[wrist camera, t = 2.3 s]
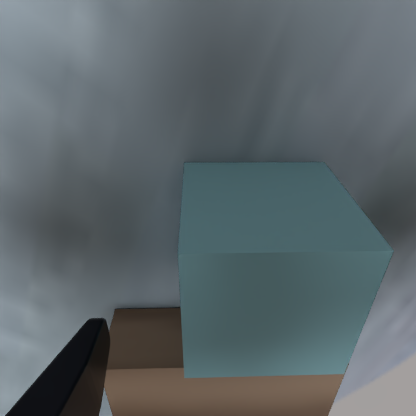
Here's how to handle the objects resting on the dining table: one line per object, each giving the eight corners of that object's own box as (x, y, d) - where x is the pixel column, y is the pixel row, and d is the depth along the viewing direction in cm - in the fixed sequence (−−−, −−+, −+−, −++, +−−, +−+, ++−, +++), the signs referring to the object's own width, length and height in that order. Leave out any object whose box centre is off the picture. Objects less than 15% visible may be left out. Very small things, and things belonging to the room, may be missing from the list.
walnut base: (293, 411, 21) (306, 467, 19) (137, 415, 21) (129, 473, 18) (324, 305, 16) (348, 363, 13) (115, 309, 16) (99, 369, 13)
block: (300, 264, 15) (343, 374, 10) (187, 266, 14) (184, 378, 10) (323, 161, 12) (394, 250, 8) (184, 161, 12) (177, 253, 7)
